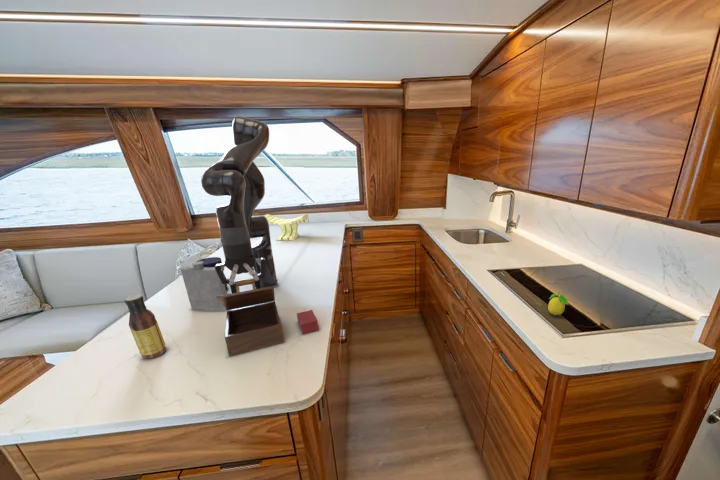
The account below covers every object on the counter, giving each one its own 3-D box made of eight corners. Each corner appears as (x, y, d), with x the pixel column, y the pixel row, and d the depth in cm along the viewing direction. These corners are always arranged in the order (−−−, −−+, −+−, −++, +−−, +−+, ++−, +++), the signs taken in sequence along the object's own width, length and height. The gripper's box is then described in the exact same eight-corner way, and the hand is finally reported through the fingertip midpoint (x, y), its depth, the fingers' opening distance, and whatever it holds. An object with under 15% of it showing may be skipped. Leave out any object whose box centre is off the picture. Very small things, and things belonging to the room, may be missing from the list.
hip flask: (231, 307, 121) (221, 261, 115) (225, 312, 117) (213, 264, 111) (195, 306, 123) (183, 260, 116) (188, 310, 119) (174, 263, 112)
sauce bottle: (151, 348, 95) (131, 292, 88) (171, 347, 96) (153, 291, 89) (136, 361, 89) (113, 301, 82) (158, 359, 90) (137, 300, 83)
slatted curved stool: (310, 234, 239) (307, 212, 233) (305, 239, 224) (302, 216, 218) (272, 235, 237) (268, 213, 231) (264, 240, 222) (260, 217, 216)
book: (318, 330, 104) (317, 320, 103) (302, 334, 102) (300, 324, 100) (313, 319, 111) (312, 309, 110) (298, 322, 109) (296, 313, 108)
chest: (283, 342, 97) (280, 324, 95) (229, 356, 91) (224, 337, 88) (277, 317, 113) (275, 301, 111) (231, 327, 106) (226, 310, 104)
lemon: (565, 321, 107) (570, 296, 104) (547, 318, 109) (551, 294, 106) (562, 312, 113) (567, 289, 110) (545, 310, 115) (549, 286, 112)
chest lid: (274, 288, 93) (271, 273, 94) (216, 298, 86) (214, 282, 88) (275, 300, 110) (272, 288, 112) (226, 310, 104) (224, 296, 105)
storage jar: (233, 289, 139) (226, 258, 134) (213, 297, 130) (205, 265, 125) (219, 285, 143) (211, 256, 138) (198, 293, 134) (190, 262, 129)
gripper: (261, 235, 94) (270, 284, 100) (209, 241, 88) (221, 292, 94) (263, 240, 88) (272, 292, 93) (206, 247, 82) (220, 302, 87)
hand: (246, 292), depth 94 cm, fingers closed on chest lid, 5 cm apart
